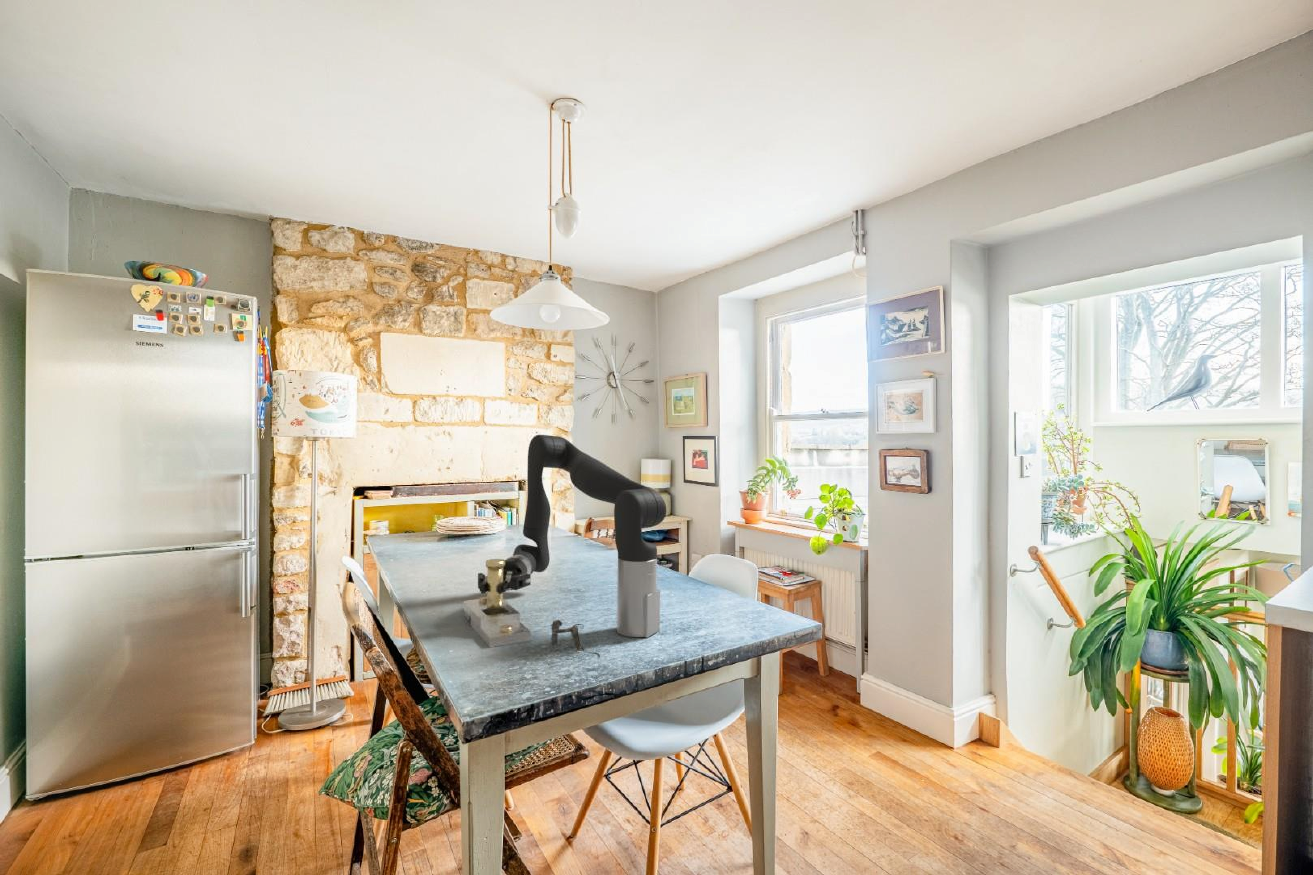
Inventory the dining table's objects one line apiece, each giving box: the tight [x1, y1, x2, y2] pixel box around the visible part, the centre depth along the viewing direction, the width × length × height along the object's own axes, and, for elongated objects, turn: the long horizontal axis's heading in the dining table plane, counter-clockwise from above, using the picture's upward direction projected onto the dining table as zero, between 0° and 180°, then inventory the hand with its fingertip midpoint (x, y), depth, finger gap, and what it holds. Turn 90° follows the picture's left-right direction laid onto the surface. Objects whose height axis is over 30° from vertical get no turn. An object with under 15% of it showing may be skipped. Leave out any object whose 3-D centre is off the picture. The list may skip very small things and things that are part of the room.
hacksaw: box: [551, 619, 601, 659], centre depth 130 cm, size 24×10×2 cm, turn 9°
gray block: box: [462, 596, 531, 648], centre depth 137 cm, size 24×9×5 cm, turn 32°
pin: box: [485, 558, 506, 616], centre depth 137 cm, size 4×4×14 cm
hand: (491, 589), depth 134 cm, fingers closed on pin, 3 cm apart
